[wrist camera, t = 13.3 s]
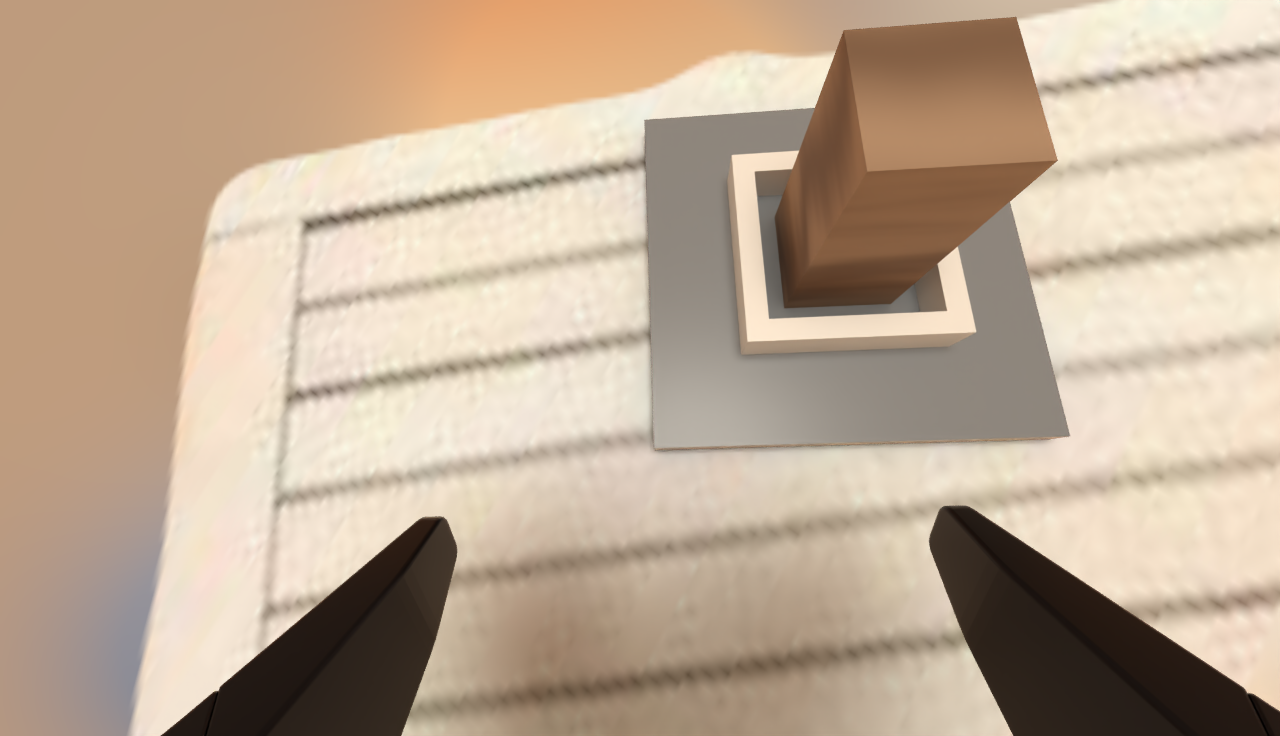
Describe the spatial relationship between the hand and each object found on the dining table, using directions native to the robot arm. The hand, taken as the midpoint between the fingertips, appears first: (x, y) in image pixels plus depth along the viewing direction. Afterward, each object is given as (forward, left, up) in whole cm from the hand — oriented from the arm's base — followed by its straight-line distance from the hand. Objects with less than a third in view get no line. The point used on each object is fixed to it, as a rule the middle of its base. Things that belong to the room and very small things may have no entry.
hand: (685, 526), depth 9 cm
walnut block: (+12, -8, -12) cm, 19 cm away
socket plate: (+12, -8, -14) cm, 20 cm away
